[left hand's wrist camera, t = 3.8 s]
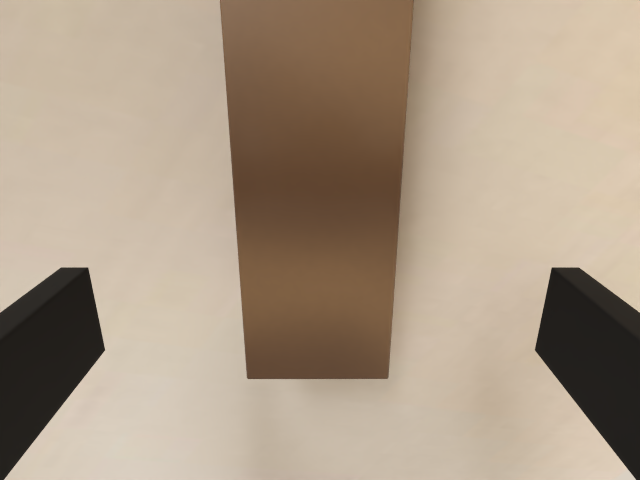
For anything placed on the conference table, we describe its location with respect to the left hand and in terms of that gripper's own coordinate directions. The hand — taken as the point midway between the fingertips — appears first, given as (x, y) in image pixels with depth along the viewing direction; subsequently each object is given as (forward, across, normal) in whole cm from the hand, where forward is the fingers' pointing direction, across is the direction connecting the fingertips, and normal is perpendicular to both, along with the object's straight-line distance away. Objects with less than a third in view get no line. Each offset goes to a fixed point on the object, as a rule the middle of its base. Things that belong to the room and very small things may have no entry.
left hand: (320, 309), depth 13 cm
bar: (+11, 0, -32) cm, 34 cm away
